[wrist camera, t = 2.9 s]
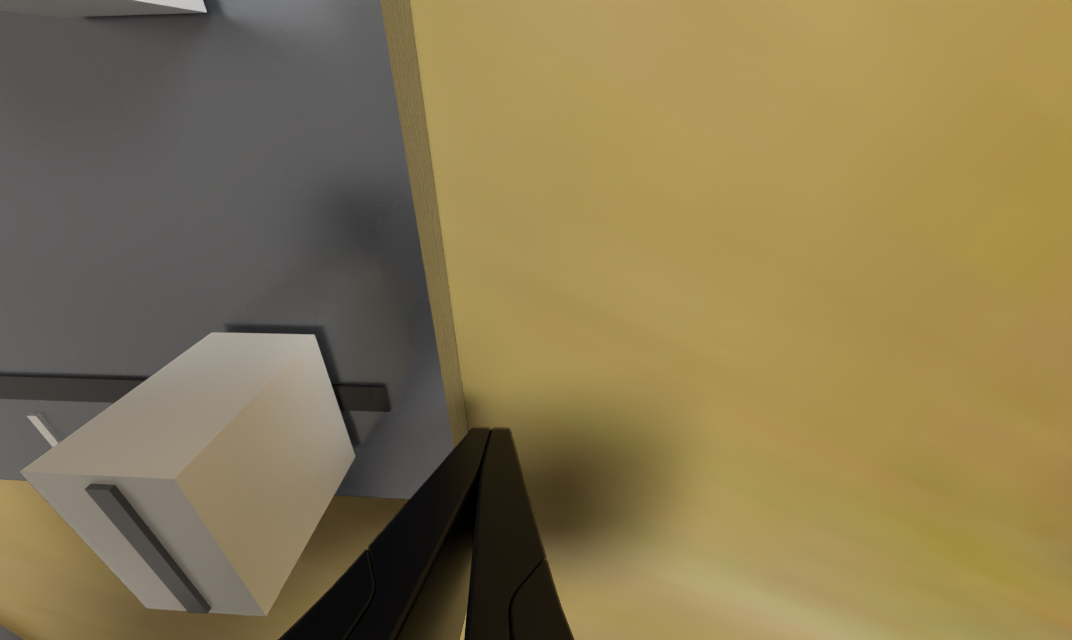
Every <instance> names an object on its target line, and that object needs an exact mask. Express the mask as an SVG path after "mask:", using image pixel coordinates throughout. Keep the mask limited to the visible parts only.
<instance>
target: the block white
mask: <svg viewBox="0 0 1072 640" xmlns="http://www.w3.org/2000/svg"><path fill="white" fill-rule="evenodd" d="M0 11H7V12H16V13H25V14H35V15H44V16H53V17H88V16H118V15H149V14H179V13H207V11H206V8H205V5H204V2H203V0H0Z"/></svg>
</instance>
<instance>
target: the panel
mask: <svg viewBox="0 0 1072 640" xmlns="http://www.w3.org/2000/svg"><path fill="white" fill-rule="evenodd" d="M203 2H204V5H205V8H206V11H207V13H179V14H149V15H118V16H88V17H53V16H44V15H35V14H25V13H16V12H7V11H0V479H1V480H22V481H28V480H27V479H26V478H25V477H24V476H23V475H22V474H21V473H20V471H21V470H23V469H24V468H25V467H27V466H28V465H29V464H31V463H32V462H34V461H35V460H36V459H38V458H39V457H40V456H42V455H43V454H45V453H46V452H47V451H49V450H50V449H51V448H53V447H54V446H56V445H57V444H58V443H60V442H61V441H63V440H64V439H65V438H67V437H68V436H69V435H71V434H72V433H74V432H75V431H76V430H78V429H79V428H80V427H82V426H83V425H85V424H86V423H87V422H89V421H90V420H91V419H93V418H94V417H96V416H97V415H98V414H100V413H101V412H102V411H104V410H105V409H107V408H108V407H109V406H111V405H112V404H114V403H115V402H116V401H118V400H119V399H120V398H122V397H123V396H125V395H126V394H127V393H129V392H130V391H131V390H133V389H134V388H136V387H137V386H138V385H140V384H141V383H142V382H144V381H145V380H147V379H148V378H149V377H151V376H152V375H153V374H155V373H156V372H158V371H159V370H160V369H162V368H163V367H165V366H166V365H167V364H169V363H170V362H171V361H173V360H174V359H176V358H177V357H178V356H180V355H181V354H182V353H184V352H185V351H187V350H188V349H189V348H191V347H192V346H193V345H195V344H196V343H198V342H199V341H200V340H202V339H203V338H204V337H206V336H207V335H209V334H210V333H211V332H221V333H268V334H315V337H316V340H317V343H318V346H319V349H320V352H321V355H322V358H323V361H324V364H325V367H326V370H327V373H328V376H329V379H330V382H331V385H332V388H333V391H334V394H335V397H336V400H337V403H338V406H339V409H340V412H341V415H342V418H343V421H344V424H345V427H346V430H347V433H348V436H349V439H350V442H351V445H352V448H353V451H354V454H355V458H354V460H353V462H352V464H351V466H350V467H349V469H348V471H347V473H346V475H345V476H344V478H343V480H342V482H341V484H340V485H339V487H338V489H337V491H336V493H335V494H334V495H335V496H355V497H376V498H397V499H410V498H411V497H412V496H413V495H414V494H415V493H416V491H417V490H418V489H419V488H420V487H421V486H422V485H423V483H424V482H425V481H426V480H427V479H428V478H429V477H430V475H431V474H432V473H433V472H434V471H435V470H436V469H437V468H438V466H439V465H440V464H441V463H442V462H443V461H444V460H445V458H446V457H447V456H448V455H449V454H450V453H451V452H452V450H453V449H454V448H455V447H456V446H457V445H458V444H459V442H460V441H461V440H462V439H463V438H464V437H465V436H466V434H467V433H468V426H467V419H466V411H465V404H464V397H463V389H462V382H461V375H460V367H459V360H458V353H457V345H456V338H455V330H454V323H453V316H452V308H451V301H450V294H449V286H448V279H447V272H446V264H445V257H444V250H443V242H442V235H441V228H440V220H439V213H438V206H437V198H436V191H435V184H434V176H433V169H432V162H431V154H430V147H429V139H428V132H427V125H426V117H425V110H424V103H423V95H422V88H421V81H420V73H419V66H418V59H417V51H416V44H415V37H414V29H413V22H412V15H411V7H410V0H203Z"/></svg>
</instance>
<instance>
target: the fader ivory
mask: <svg viewBox="0 0 1072 640" xmlns="http://www.w3.org/2000/svg"><path fill="white" fill-rule="evenodd" d="M354 458H355V454H354V451H353V448H352V445H351V442H350V439H349V436H348V433H347V430H346V427H345V424H344V421H343V418H342V415H341V412H340V409H339V406H338V403H337V400H336V397H335V394H334V391H333V388H332V385H331V382H330V379H329V376H328V373H327V370H326V367H325V364H324V361H323V358H322V355H321V352H320V349H319V346H318V343H317V340H316V337H315V334H268V333H221V332H211V333H210V334H209V335H207V336H206V337H204V338H203V339H202V340H200V341H199V342H198V343H196V344H195V345H193V346H192V347H191V348H189V349H188V350H187V351H185V352H184V353H182V354H181V355H180V356H178V357H177V358H176V359H174V360H173V361H171V362H170V363H169V364H167V365H166V366H165V367H163V368H162V369H160V370H159V371H158V372H156V373H155V374H153V375H152V376H151V377H149V378H148V379H147V380H145V381H144V382H142V383H141V384H140V385H138V386H137V387H136V388H134V389H133V390H131V391H130V392H129V393H127V394H126V395H125V396H123V397H122V398H120V399H119V400H118V401H116V402H115V403H114V404H112V405H111V406H109V407H108V408H107V409H105V410H104V411H102V412H101V413H100V414H98V415H97V416H96V417H94V418H93V419H91V420H90V421H89V422H87V423H86V424H85V425H83V426H82V427H80V428H79V429H78V430H76V431H75V432H74V433H72V434H71V435H69V436H68V437H67V438H65V439H64V440H63V441H61V442H60V443H58V444H57V445H56V446H54V447H53V448H51V449H50V450H49V451H47V452H46V453H45V454H43V455H42V456H40V457H39V458H38V459H36V460H35V461H34V462H32V463H31V464H29V465H28V466H27V467H25V468H24V469H23V470H21V471H20V473H21V474H22V475H23V476H24V477H25V478H26V479H27V480H28V482H29V483H30V484H31V485H32V486H33V487H34V488H35V489H36V490H37V491H38V492H39V493H40V494H41V495H42V497H43V498H44V499H45V500H46V501H47V502H48V503H49V504H50V505H51V506H52V507H53V508H54V509H55V510H56V512H57V513H58V514H59V515H60V516H61V517H62V518H63V519H64V520H65V521H66V522H67V523H68V524H69V526H70V527H71V528H72V529H73V530H74V531H75V532H76V533H77V534H78V535H79V536H80V537H81V538H82V539H83V541H84V542H85V543H86V544H87V545H88V546H89V547H90V548H91V549H92V550H93V551H94V552H95V553H96V554H97V556H98V557H99V558H100V559H101V560H102V561H103V562H104V563H105V564H106V565H107V566H108V567H109V568H110V570H111V571H112V572H113V573H114V574H115V575H116V576H117V577H118V578H119V579H120V580H121V581H122V582H123V583H124V585H125V586H126V587H127V588H128V589H129V590H130V591H131V592H132V593H133V594H134V595H135V596H136V597H137V599H138V600H139V601H140V602H141V603H142V604H143V605H144V606H145V607H146V608H147V609H161V610H176V611H187V612H191V613H206V614H208V613H219V614H234V615H248V616H263V617H266V616H267V615H268V613H269V611H270V609H271V608H272V606H273V604H274V602H275V600H276V599H277V597H278V595H279V593H280V591H281V590H282V588H283V586H284V584H285V582H286V581H287V579H288V577H289V575H290V573H291V572H292V570H293V568H294V566H295V564H296V563H297V561H298V559H299V557H300V555H301V554H302V552H303V550H304V548H305V546H306V545H307V543H308V541H309V539H310V537H311V536H312V534H313V532H314V530H315V528H316V527H317V525H318V523H319V521H320V520H321V518H322V516H323V514H324V512H325V511H326V509H327V507H328V505H329V503H330V502H331V500H332V498H333V496H334V494H335V493H336V491H337V489H338V487H339V485H340V484H341V482H342V480H343V478H344V476H345V475H346V473H347V471H348V469H349V467H350V466H351V464H352V462H353V460H354Z"/></svg>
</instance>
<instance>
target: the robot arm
mask: <svg viewBox="0 0 1072 640" xmlns="http://www.w3.org/2000/svg"><path fill="white" fill-rule="evenodd" d="M466 611H467V617H466V628H465V639H464V640H574V637H573V635H572V632H571V630H570V627H569V625H568V622H567V619H566V617H565V614H564V612H563V609H562V606H561V603H560V600H559V597H558V594H557V591H556V588H555V584H554V581H553V578H552V574H551V571H550V567H549V564H548V561H547V560H546V554H545V550H544V546H543V543H542V539H541V536H540V532H539V529H538V525H537V521H536V518H535V514H534V511H533V507H532V504H531V500H530V496H529V493H528V489H527V486H526V482H525V479H524V475H523V471H522V468H521V464H520V461H519V457H518V454H517V450H516V447H515V443H514V439H513V436H512V432H511V430H510V428H504V427H494V428H493V429H491V428H490V427H473V428H472V429H471V430H470V431H469V432H468V433H467V434H466V436H465V437H464V438H463V439H462V440H461V441H460V442H459V444H458V445H457V446H456V447H455V448H454V449H453V450H452V452H451V453H450V454H449V455H448V456H447V457H446V458H445V460H444V461H443V462H442V463H441V464H440V465H439V466H438V468H437V469H436V470H435V471H434V472H433V473H432V474H431V475H430V477H429V478H428V479H427V480H426V481H425V482H424V483H423V485H422V486H421V487H420V488H419V489H418V490H417V491H416V493H415V494H414V495H413V496H412V497H411V498H410V499H409V501H408V502H407V503H406V504H405V505H404V506H403V507H402V509H401V510H400V511H399V512H398V513H397V514H396V515H395V517H394V518H393V519H392V520H391V521H390V522H389V523H388V524H387V526H386V527H385V528H384V529H383V530H382V531H381V532H380V534H379V535H378V536H377V537H376V538H375V539H374V540H373V542H372V543H371V544H370V545H369V546H368V550H364V552H363V553H362V554H361V555H360V556H359V557H358V558H357V560H356V561H355V562H354V563H353V564H352V565H351V566H350V567H349V569H348V570H347V571H346V572H345V573H344V574H343V575H342V576H341V577H340V578H339V579H338V580H337V582H336V583H335V584H334V585H333V586H332V587H331V588H330V589H329V590H328V591H327V592H326V593H325V594H324V595H323V596H322V597H321V598H320V599H319V600H318V601H317V602H316V603H315V604H314V605H313V606H312V607H311V608H310V609H309V610H308V611H307V612H306V613H305V614H304V615H303V616H302V617H301V618H300V619H299V620H298V621H297V622H296V623H295V624H294V625H293V626H292V627H291V628H290V629H289V630H288V631H287V632H286V633H285V634H284V635H282V636H281V637H280V638H279V639H278V640H460V636H461V632H462V628H463V624H464V619H465V615H466Z"/></svg>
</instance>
